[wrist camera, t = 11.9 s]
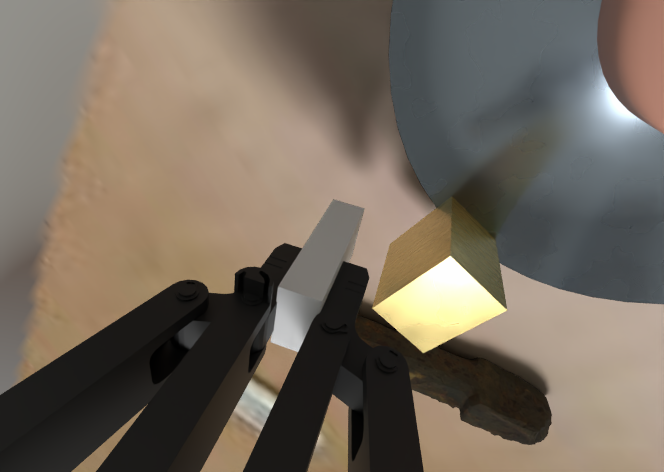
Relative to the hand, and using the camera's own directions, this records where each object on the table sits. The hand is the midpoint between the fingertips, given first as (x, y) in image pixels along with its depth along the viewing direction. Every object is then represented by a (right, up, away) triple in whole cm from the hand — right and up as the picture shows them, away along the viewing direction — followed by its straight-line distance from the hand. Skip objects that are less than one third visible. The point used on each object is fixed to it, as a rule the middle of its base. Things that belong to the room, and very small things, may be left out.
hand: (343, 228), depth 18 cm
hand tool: (+6, -8, +11) cm, 15 cm away
